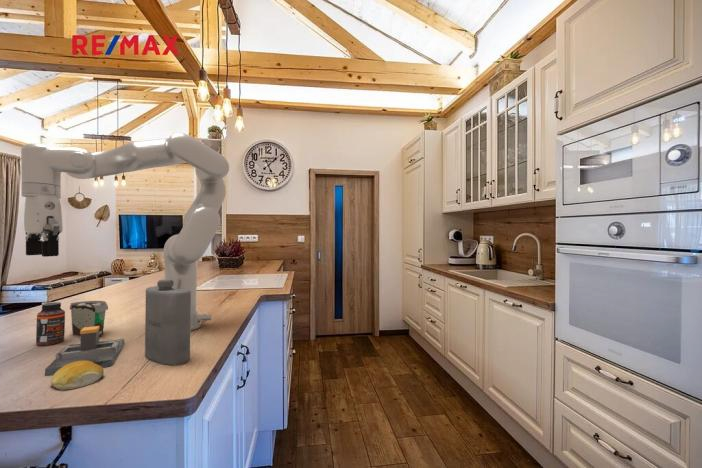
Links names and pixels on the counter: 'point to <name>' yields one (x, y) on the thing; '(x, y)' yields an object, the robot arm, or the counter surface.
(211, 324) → the counter surface
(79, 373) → the bread roll
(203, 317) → the robot arm
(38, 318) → the supplement bottle
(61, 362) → the panel
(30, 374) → the counter surface
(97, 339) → the lever
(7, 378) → the counter surface
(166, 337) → the flask
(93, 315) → the food container
